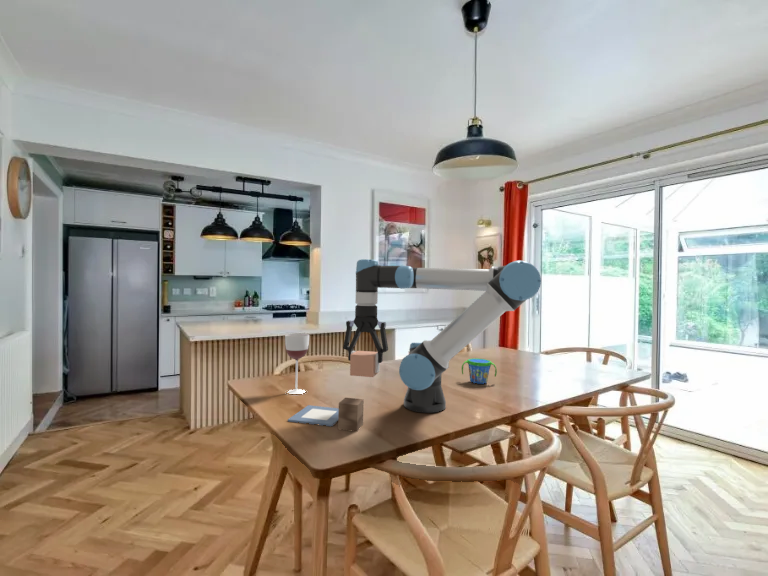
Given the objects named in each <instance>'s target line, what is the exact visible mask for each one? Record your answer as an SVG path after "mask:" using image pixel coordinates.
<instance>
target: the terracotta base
mask: <svg viewBox="0 0 768 576" xmlns="http://www.w3.org/2000/svg"><path fill="white" fill-rule="evenodd" d="M355 351H356V352H354V353H352V354H351V355H350V361H349V362H350V363H349V364H350V366H349V368H350V369H349V370H350V371H349V376H353V377H367V378H368V377H369V378H374V377H375V376H376V375H377V374H379V373H380V371H379V372H378V373H375V362H376V353H378V351H371V350H370V351H369V350H367V351H366V350H355Z"/></svg>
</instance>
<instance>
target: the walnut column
mask: <svg viewBox="0 0 768 576" xmlns="http://www.w3.org/2000/svg"><path fill="white" fill-rule="evenodd" d="M338 408H339V414H338V423H337V424H338V426H337V428H338V429H337V430H339V429H343V430H342V431H347V430H352V431H351V432H355V431H357V432H358V431H359V430H360V429H361V428H362V427H361V426H363V425H364V399H363V398H356V397H355V398H353V397H344V398H343V399H342V400H341V401H339V403H338ZM360 427H361V428H360ZM359 428H360V429H359Z"/></svg>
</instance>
